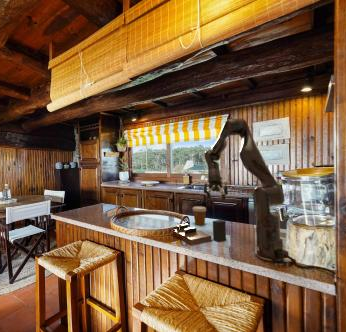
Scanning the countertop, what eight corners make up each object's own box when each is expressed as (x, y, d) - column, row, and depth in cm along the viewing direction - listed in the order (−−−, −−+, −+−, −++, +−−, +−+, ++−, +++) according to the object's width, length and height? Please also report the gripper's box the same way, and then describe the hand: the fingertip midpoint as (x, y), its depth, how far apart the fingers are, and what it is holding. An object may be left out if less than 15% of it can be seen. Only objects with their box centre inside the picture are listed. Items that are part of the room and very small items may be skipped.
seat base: (211, 240, 120) (211, 231, 120) (191, 245, 116) (191, 235, 115) (190, 231, 137) (190, 223, 137) (172, 235, 132) (172, 226, 132)
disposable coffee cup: (209, 225, 148) (208, 208, 147) (195, 226, 148) (194, 209, 147) (203, 221, 157) (203, 205, 157) (191, 222, 157) (190, 206, 157)
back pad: (226, 240, 121) (225, 221, 120) (217, 241, 119) (217, 222, 118) (221, 238, 124) (220, 219, 124) (213, 239, 122) (212, 221, 122)
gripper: (205, 173, 136) (206, 197, 129) (227, 175, 135) (230, 199, 128) (201, 178, 143) (202, 200, 136) (223, 180, 142) (225, 203, 135)
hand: (216, 200), depth 132 cm, fingers open, 8 cm apart
